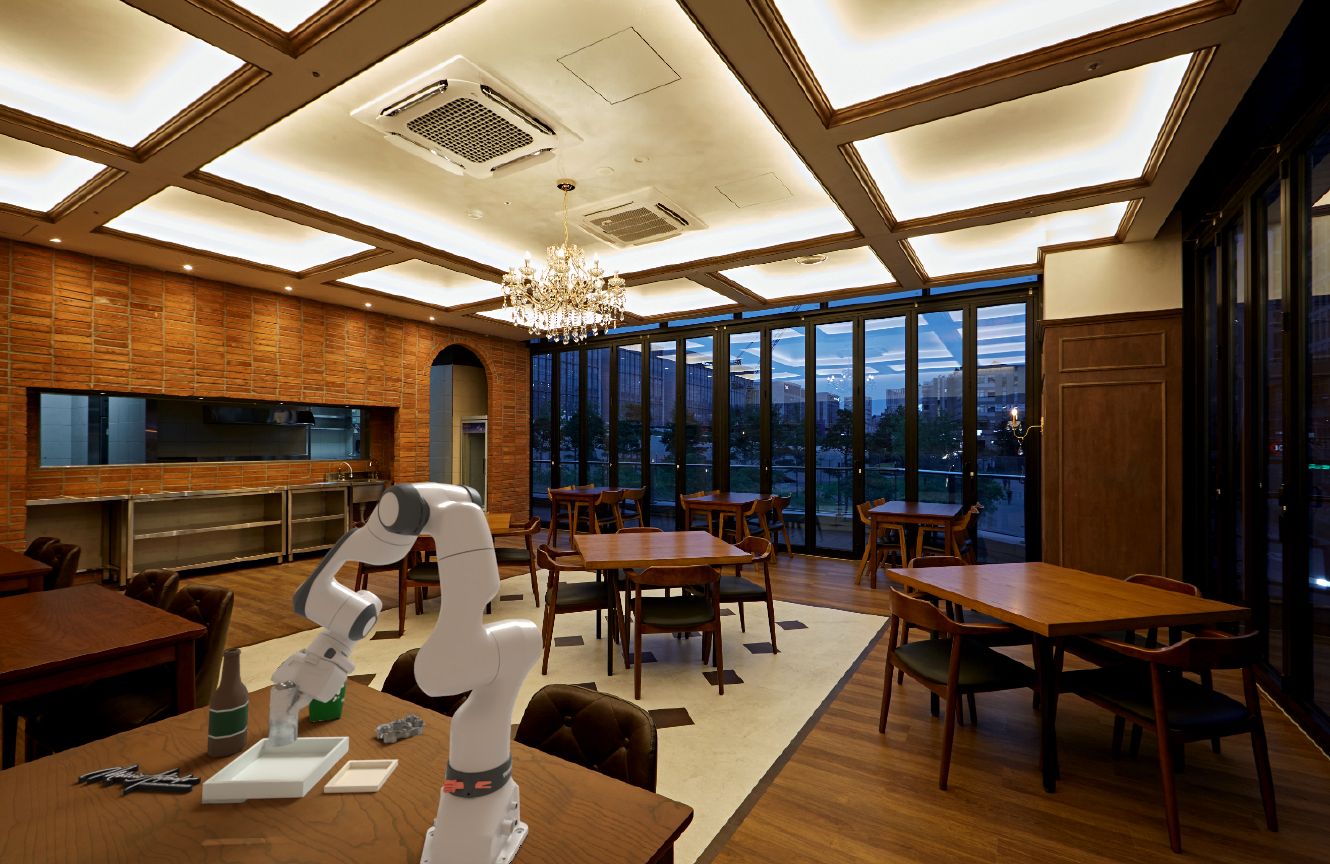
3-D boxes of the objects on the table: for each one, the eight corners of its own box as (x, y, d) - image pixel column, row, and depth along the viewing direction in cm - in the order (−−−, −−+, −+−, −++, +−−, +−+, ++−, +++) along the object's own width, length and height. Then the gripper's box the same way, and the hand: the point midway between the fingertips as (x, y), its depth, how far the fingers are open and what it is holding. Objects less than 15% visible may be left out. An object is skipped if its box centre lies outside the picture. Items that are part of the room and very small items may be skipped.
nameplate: (58, 786, 124) (106, 762, 134) (57, 794, 124) (105, 769, 134) (179, 793, 122) (219, 768, 132) (178, 801, 122) (218, 775, 132)
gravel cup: (288, 746, 129) (291, 687, 130) (262, 747, 129) (265, 687, 130) (302, 735, 135) (304, 677, 135) (277, 735, 134) (279, 678, 135)
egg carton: (385, 749, 145) (386, 732, 145) (372, 739, 150) (373, 723, 150) (427, 734, 153) (427, 718, 153) (413, 725, 158) (414, 710, 158)
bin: (302, 800, 122) (303, 781, 122) (201, 803, 121) (202, 783, 121) (348, 753, 142) (348, 736, 142) (262, 755, 141) (263, 738, 141)
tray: (377, 794, 124) (377, 785, 125) (323, 796, 124) (324, 786, 124) (397, 768, 135) (398, 759, 135) (348, 769, 135) (348, 760, 135)
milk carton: (343, 719, 161) (346, 644, 162) (305, 725, 157) (308, 649, 158) (346, 707, 169) (348, 636, 170) (309, 712, 165) (312, 640, 166)
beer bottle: (230, 758, 139) (235, 655, 140) (198, 757, 139) (203, 654, 141) (254, 742, 147) (258, 645, 148) (223, 742, 147) (228, 644, 148)
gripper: (292, 640, 144) (246, 694, 135) (342, 654, 134) (296, 714, 125) (310, 653, 148) (266, 707, 139) (360, 668, 138) (316, 727, 129)
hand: (281, 711), depth 132 cm, fingers closed on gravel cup, 5 cm apart
